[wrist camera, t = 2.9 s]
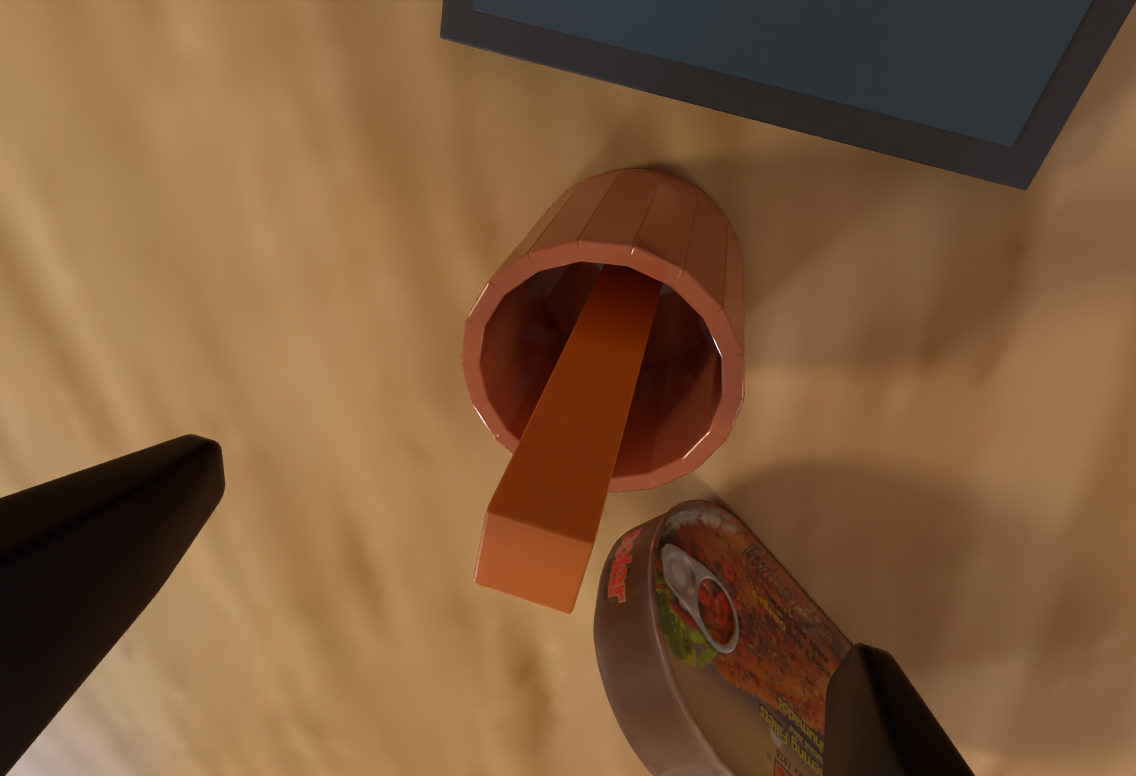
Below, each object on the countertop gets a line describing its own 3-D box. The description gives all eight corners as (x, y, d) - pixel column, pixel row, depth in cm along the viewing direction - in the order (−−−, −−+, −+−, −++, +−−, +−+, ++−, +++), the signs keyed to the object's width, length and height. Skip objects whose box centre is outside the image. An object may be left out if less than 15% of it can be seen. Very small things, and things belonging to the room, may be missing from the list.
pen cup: (777, 200, 18) (790, 289, 13) (704, 393, 21) (692, 524, 16) (553, 140, 18) (480, 203, 13) (516, 338, 22) (447, 449, 17)
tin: (917, 717, 26) (980, 989, 19) (841, 736, 28) (874, 996, 21) (679, 446, 22) (649, 664, 15) (606, 486, 24) (548, 701, 17)
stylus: (667, 264, 19) (594, 543, 10) (651, 315, 20) (571, 616, 10) (611, 249, 19) (485, 509, 10) (598, 300, 20) (471, 583, 11)
